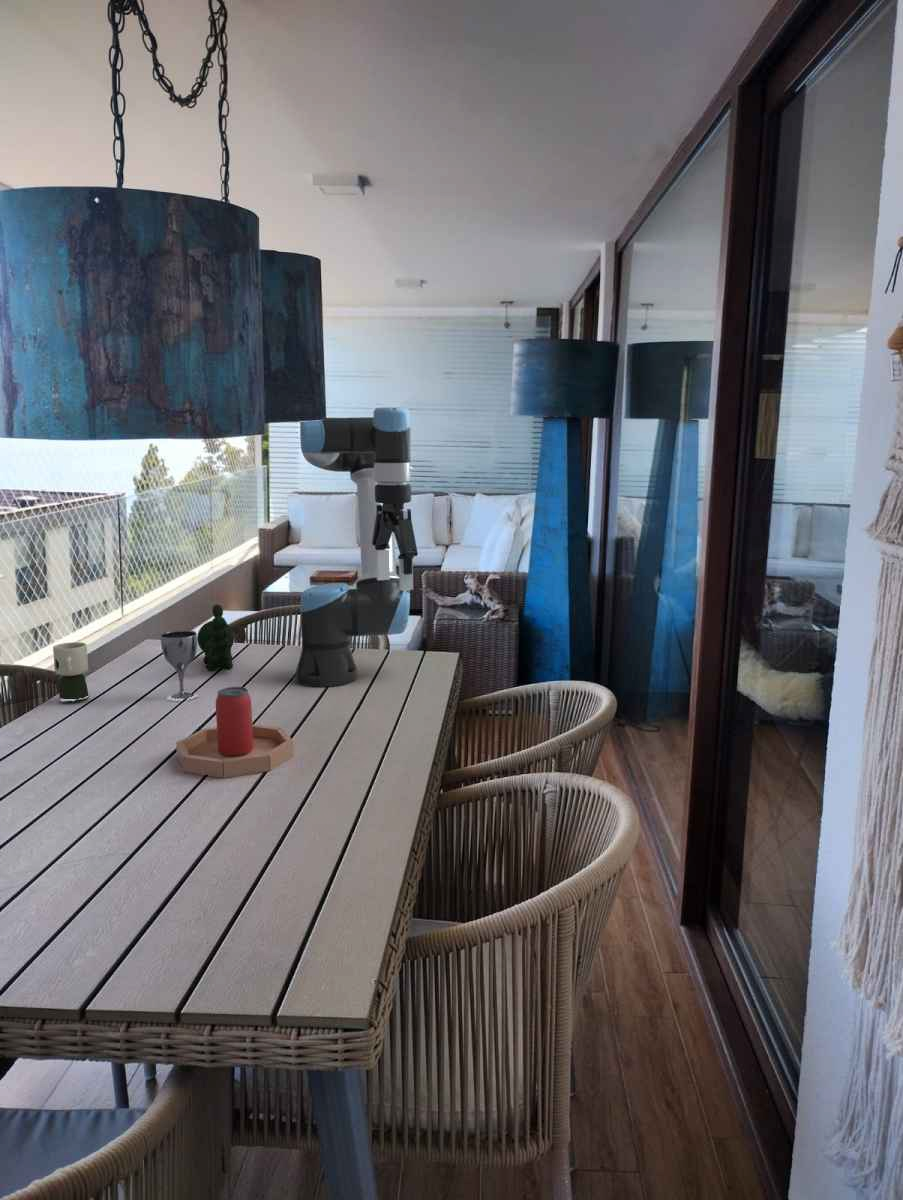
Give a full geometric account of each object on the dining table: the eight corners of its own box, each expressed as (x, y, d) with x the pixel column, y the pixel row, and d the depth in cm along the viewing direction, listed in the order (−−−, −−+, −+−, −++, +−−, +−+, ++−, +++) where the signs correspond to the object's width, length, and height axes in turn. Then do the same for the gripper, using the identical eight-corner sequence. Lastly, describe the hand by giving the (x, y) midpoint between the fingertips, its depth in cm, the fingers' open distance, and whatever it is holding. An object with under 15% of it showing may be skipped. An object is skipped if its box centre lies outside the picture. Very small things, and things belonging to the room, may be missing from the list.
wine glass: (199, 700, 217) (196, 636, 214) (163, 703, 215) (159, 638, 213) (200, 691, 225) (196, 629, 222) (165, 693, 223) (161, 631, 220)
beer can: (245, 758, 177) (242, 696, 175) (212, 756, 178) (209, 694, 176) (258, 746, 183) (256, 686, 181) (226, 744, 185) (223, 685, 182)
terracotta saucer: (172, 747, 186) (171, 733, 185) (275, 733, 194) (274, 719, 194) (189, 783, 168) (188, 767, 167) (302, 766, 176) (301, 750, 175)
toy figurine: (241, 682, 239) (232, 650, 262) (238, 609, 234) (229, 584, 257) (202, 685, 236) (196, 653, 259) (199, 612, 231) (193, 586, 254)
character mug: (60, 695, 222) (56, 641, 219) (93, 693, 224) (89, 639, 221) (54, 708, 212) (49, 652, 209) (88, 706, 213) (83, 650, 211)
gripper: (433, 486, 187) (434, 592, 191) (388, 479, 209) (390, 574, 213) (397, 487, 184) (399, 595, 188) (356, 480, 206) (358, 577, 210)
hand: (394, 584), depth 200 cm, fingers open, 13 cm apart
